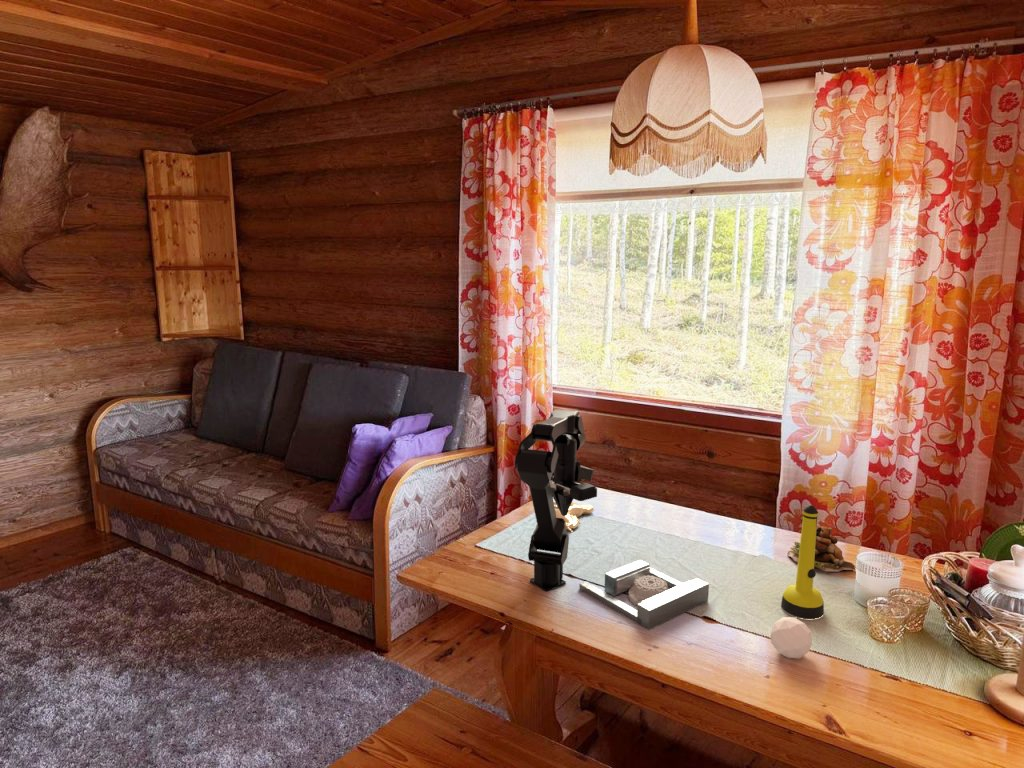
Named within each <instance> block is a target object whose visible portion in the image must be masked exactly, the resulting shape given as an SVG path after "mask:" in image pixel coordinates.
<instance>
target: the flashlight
mask: <svg viewBox="0 0 1024 768" xmlns="http://www.w3.org/2000/svg"><path fill="white" fill-rule="evenodd" d="M819 516H820V515H819V510H818V509H817V508H816V506H814V505H813V504H809V505H806V507H804V508H803V510H802V517H803V522H801V533H800V540H799V541H800V542H799V543H800V549H799V559H798V563H797V571H796V580H795V583H794V584H793V583H792V584H790V585H788V586H787V587H786V588H785V590H784V591H783V592H782V597H781V604H780V609H781V610H782V611H783V612H784V614H787V616H789V615H790V616H789V617H792V616H793V617H797V618H803V619H815V618H819V617H821V616H822V615H823V614H824V613H825V611H824V609H825V603H824V602H825V601H824V598H823V596H822V594H821V592H820V591H819V590H818V589H817V588H815V587H814V578H816V575H817V571H816V570H815V567H814V559H815V543H816V527H817V523H818V517H819ZM797 618H796V619H797Z"/></svg>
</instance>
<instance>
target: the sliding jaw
mask: <svg viewBox="0 0 1024 768" xmlns="http://www.w3.org/2000/svg"><path fill="white" fill-rule="evenodd" d="M650 568H651V567H650V563H648V562H647V561H643V560H642V559H639V560H636V561H633V562H630V563H629V564H625V565H623V566H619V567H617V568H615V569H613V570H610V571H608V572H605V573H604V592H605V593H607V594H609V595H611V596H613V597H615V596H618V595H621V594H622V593H625V592H627V591H629V590H630V588H631V587H633V586H634V582H635V580H636V579H637V578H638V577H643V576H644V575H645V576H647V575H649V574H650Z"/></svg>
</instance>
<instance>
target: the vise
mask: <svg viewBox="0 0 1024 768" xmlns="http://www.w3.org/2000/svg"><path fill="white" fill-rule="evenodd" d="M652 575H653V576H654V577H657V578H659V577H660V578H661V579H662V580H664V581H666V583H667V588H668V589H667V591H665V592H662V593H660V594H658V595H655V596H653V597H651V598H649V599H646V600H644V601H642V602H641V603H639V604H638V606H637V609H635V608H634V607H632V606H630V605H628V604H627V603H625V602H624V601H621V600H619V599H618V598H617V597H615V596H612V595H610V594H609V593H607V592H605V590H602V589H600V588H599V587H597V586H595V585H593V584H591V583H589V582H588V581H582V582H580V583H579V591H582V592H583V594H584V593H585V594H586V595H587V596H589V597H591V598H593V599H595V600H596V601H599V602H600V603H601V604H604V605H605V606H607V607H609V608H611V609H612V610H614V611H615V612H617V613H619V614H620V615H622V616H624V617H626V618H627V619H629V620H630V621H633V622H634V623H636V624H637V625H639V626H641V627H643V628H645V629H646V630H648V631H650V630H651V629H654V628H656V627H658V626H659V625H662V624H664V623H666V622H668V621H670V620H673V619H674V618H676V617H679V616H681V615H683V614H685V613H688V612H689V611H692V610H694V609H695V608H697V607H700V606H701V605H704V604H705V603H708V602H709V593H710V591H709V589H710V583H709V582H706V581H704V580H702V579H700V578H698V577H695V578H694V579H691V580H688V581H685V582H681V581H679V580H678V579H675V578H673V577H671V576H669V575H666V574H665V573H663V572H661V571H658V570H656V569H655V568H652V567H650V574H649V576H652Z"/></svg>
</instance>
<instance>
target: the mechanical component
mask: <svg viewBox="0 0 1024 768" xmlns="http://www.w3.org/2000/svg"><path fill="white" fill-rule="evenodd" d="M667 590H668V587H667V583H666V581H664V580H662V579H661V578H660V577H659V578H657V577H654V576H653V575H652V576H649V575H647V576H645V575H644V576H643V577H638V578H637V579H636V580H635V582H634V586H633V587H631V588H630V590H628V600H629V601H630V602H631V603H632V604H633V605H635V606H637V607H638V604H639V603H641V602H642V601H644V600H646V599H649V598H651V597H653V596H655V595H658V594H660V593H662V592H665V591H667Z"/></svg>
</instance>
